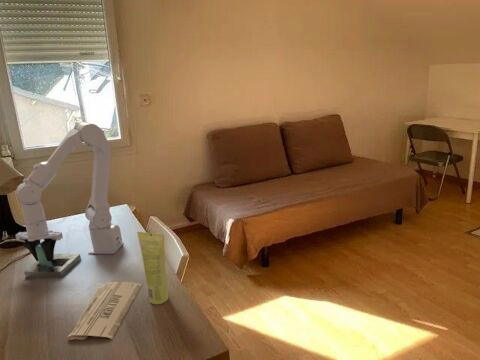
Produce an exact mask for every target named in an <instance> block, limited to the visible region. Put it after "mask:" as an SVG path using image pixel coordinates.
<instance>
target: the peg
mask: <svg viewBox="0 0 480 360" xmlns="http://www.w3.org/2000/svg"><path fill="white" fill-rule="evenodd" d="M35 249H36V253H37V257H38V261H39V265H40V266H48V267H53V265H52V263H51V261H47V258H46V255H45V252H44V250H43V248H42V247H41V245H40V244H39V245H37V246H35Z"/></svg>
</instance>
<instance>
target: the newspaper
mask: <svg viewBox="0 0 480 360" xmlns="http://www.w3.org/2000/svg"><path fill="white" fill-rule="evenodd" d="M141 285H142V286H143V284H142V283H138V282H130V281H128V282H127V281H109V282H106V283H105V284H104V285H103V286H102V285H100V286H98V288H97V290H96V291H95V293H94V294H93V296H92V297H91V299H90V300H89V302H88V304H87V305H86V307H85V308H84V310H83V312H82V314H81V315H80V317H79V319H78V321H77V323H76V325H75V326H74V328H73V329H72V330H71V332H70V333H69V334H68V335H67V340H68V341H73V340H81V341H82V340H85V339H86V340H87V338H88V336H91V337H101V338H108V339H110V340H113V339H114V337H115V335H116V333H117V332H118V329H119V328H120V325H121V324H122V323H123V321H124V319H125V317H126V315H127V313H128V311H129V310H130V308H131V306H132V304H133V303H132V302H134V301H133V300H135V299H136V297H137V296H138V293H139V292H140V290H141V288H142V286H141ZM140 287H141V288H140ZM139 289H140V290H139ZM138 291H139V292H138Z"/></svg>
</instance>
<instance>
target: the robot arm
mask: <svg viewBox="0 0 480 360" xmlns="http://www.w3.org/2000/svg"><path fill="white" fill-rule="evenodd" d="M85 144H86V145H87V146H88V147H89V148H90V149H91V150H92V151H93V152H94V153H93V165H92V166H93V168H92V178H91V179H92V180H91V182H92V183H91V192H90V193H91V195H90V198H89V200H88V205H87V207H86V208H85V210H84V216H85V218H86V219H87V221H89V223H88V230H89V236H90V240H91V244H92V248H91V249H90V250H89V251H88V254H90V255H91V254H94V255H95V254H98V255H99V254H101V255H103V254H104V255H113V254H115V253H116V252H117V251H119V249H120V248H121V247H122V246H123V245H124V241H123V238H122V233H121V228H120V226H119V225H118V224H114V223H112V219H113V217H112V214H111V211H110V204H109V200H108V195H109V194H108V193H109V184H110V183H109V182H110V181H109V180H110V169H111V156H112V155H111V154H112V147H111V144H110V143H109V140H108V139H107V137H106V135H105V131H104V130H102V128H101V127H99V125H97V124H95V123H91V122H90V123H89V122H87V121H80V122H77V123H76V124H75V125H74V126H73V128H71V129H70V130H69V131H68V133H66V135H65V137H64V138H63V140H62V141H61V142H60V143H59V145H57V147H56V148H55V150H54V151H53V153H52V154H51V155H50V156H49V157H48V159H47V160H46V161H42V162H39V163H38V164H35V165H33V170H32V171H31V173H30V174H29V175H28V176H27V177H26V178H23V180H22V182H23V183H20V184H19V185H17V187H16V192H15V195H16V197H17V198H18V199H19V202H20V203H19V204H20V207H21V209H20V210H21V214H22V218H23V222H24V225H25V228H26V229H25V230H26V231H23V232H22V231H19V232H17V233H16V234H15V239H16V241H22V240H25V241H24V242H23V243H22V246H23V247H24V248H25V249H27V251H28V252H30V254H31V255H32V256H33V257H34V260H35V261H36V262H37V261H38V257H37V253H36V249H35V246H37V245H39V244H40V245H41V247H42V248H43V250H44V252H45V255H46V258H47V261H51V260H52V259H53V258H54V254H55V247H56V243H57V241H61V240H62V239H63V238H64V237H63V236H64V235H63V233H62V231H56V230H51V229H49V227H48V224H47V223H48V222H47V219H46V215H45V211H44V205H43V204H42V202H41V198H42V192H43V191H44V190H45V189H46V188H47V187H48V185H50V183H51V182H52V181H53V179H54V178H55V177H56V176H57V174H58V173H57V172H58V170H57V168H58V167H59V165H60V164H62V162H63V161H64V160H65V159H66V158H67V156H69V154H70V153H72V151H73V150H74V149H76V148H81V147H84V146H85ZM41 240H43V241H41Z"/></svg>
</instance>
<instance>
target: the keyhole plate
mask: <svg viewBox="0 0 480 360" xmlns="http://www.w3.org/2000/svg"><path fill="white" fill-rule="evenodd" d="M81 260H82V259H81V254H80V253H72V254H71V253H54V258H53V259H52V260H51V263H52V267H48V266H40V265H39V261H36V262H35V263H33V264H31V266H29V267H28V268H27V269H26V270H24V276H25V278H45V279H46V278H51V279H54V278H55V279H56V278H57V279H62V278H63V277H64V276H65V275H66V274H68V272H69V271H70V270H72V269H73V268H74V267H75V266H76V265H77V264H79V262H80V261H81ZM53 265H62V266H53Z"/></svg>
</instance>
